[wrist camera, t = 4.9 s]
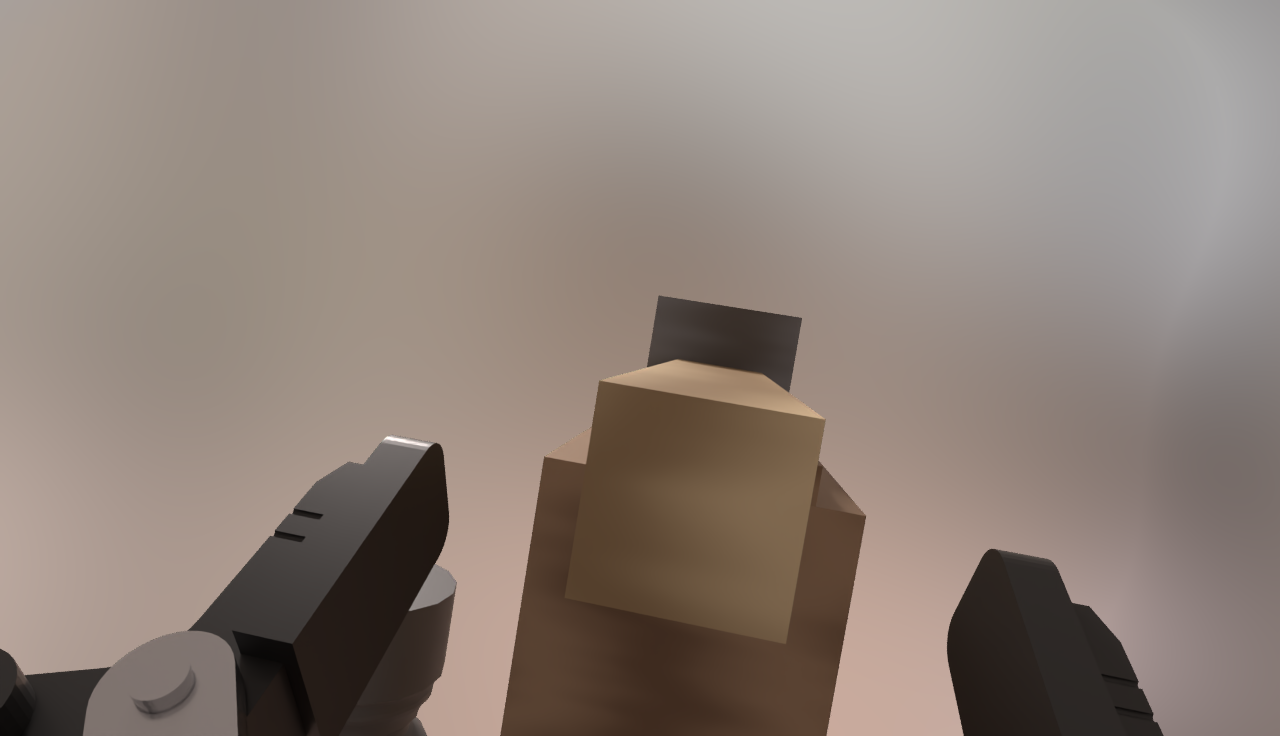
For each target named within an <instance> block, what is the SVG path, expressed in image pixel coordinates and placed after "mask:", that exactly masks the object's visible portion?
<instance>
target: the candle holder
mask: <svg viewBox="0 0 1280 736" xmlns="http://www.w3.org/2000/svg"><path fill="white" fill-rule="evenodd" d="M456 584H457V582H456V580H455V579H454V578H453V576H452V575H451V574H450V572H449V571H447V570H445V569H443V568H442V567H440V566H438V565H436V564H435V565H434V566H433V568H432V570H431V572H430V574H429V575H428V577H427V579H426V581H425V582H424V584H423V586H422V588H421V590H420V591H419V593H418V595H417V597H416V599H415V600H414V602H413V604H412V606H411V608H410V609H409V611H408V613H407V615H406V616H405V618H404V620H403V622H402V624H401V625H400V627H399V629H398V631H397V633H396V634H395V636H394V638H393V640H392V642H391V643H390V645H389V647H388V649H387V650H386V652H385V654H384V656H383V658H382V659H381V661H380V663H379V665H378V667H377V668H376V670H375V672H374V674H373V676H372V677H371V679H370V681H369V683H368V684H367V686H366V688H365V690H364V692H363V693H362V695H361V697H360V699H359V701H358V702H357V704H356V706H355V708H354V710H353V711H352V713H351V715H350V717H349V718H348V720H347V722H346V724H345V726H344V727H343V729H342V731H341V733H340V735H339V736H427V735H426V732H425V730H424V728H423V726H422V723H421V721H420V720H419V719H418V718H416V716H417V712H418V709H419V708H420V706H421V705H422V704H423V703H424V702H425V701H426V700H427V699H428V698H429V696H430V695H431V692H432V688H433V684H434V682H435V681H436V680H437V679H438V678H439V677H440V676H441V674H442V670H443V666H444V662H445V656H446V649H447V643H448V636H449V630H450V623H451V617H452V610H453V603H454V597H455V589H456Z"/></svg>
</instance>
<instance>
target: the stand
mask: <svg viewBox="0 0 1280 736" xmlns="http://www.w3.org/2000/svg"><path fill="white" fill-rule="evenodd" d="M591 430H592V427H591V428H589V429H587V430H586V431H584V432H582V433H581V434H579V435H578V436H576V437H574V438H573V439H571V440H570V441H568V442H567V443H565V444H563V445H562V446H560V447H559V448H557V449H556V450H554V451H553V452H551V453H549V454H548V455H546V456H545V457H544V462H543V468H542V475H541V481H540V487H539V493H538V500H537V507H536V513H535V519H534V525H533V532H532V539H531V544H530V551H529V557H528V564H527V571H526V576H525V583H524V589H523V595H522V602H521V608H520V614H519V621H518V627H517V634H516V640H515V646H514V653H513V659H512V665H511V672H510V678H509V684H508V691H507V697H506V703H505V710H504V716H503V723H502V729H501V735H500V736H826V734H827V729H828V724H829V718H830V712H831V707H832V702H833V696H834V691H835V685H836V679H837V674H838V668H839V663H840V657H841V652H842V646H843V641H844V635H845V630H846V624H847V619H848V613H849V608H850V602H851V597H852V591H853V586H854V580H855V575H856V569H857V564H858V558H859V553H860V547H861V541H862V536H863V530H864V525H865V519H866V515H865V514H864V513H863V512H862V511H861V510H860V509H859V507H858V506H857V505H856V504H855V503H854V501H853V500H852V499H851V498H850V497H849V496H848V494H847V493H846V492H845V491H844V490H843V489H842V487H841V486H840V485H839V484H838V483H837V482H836V480H835V479H834V478H833V477H832V476H831V475H830V474H829V472H828V471H827V470H826V469H825V468H824V466H823V465H822V464H821V463H820V462H819V461H818V465H817V471H816V477H815V482H814V488H813V494H812V499H811V505H810V511H809V516H808V522H807V528H806V533H805V539H804V545H803V550H802V556H801V562H800V567H799V573H798V578H797V584H796V590H795V595H794V601H793V607H792V612H791V618H790V624H789V629H788V635H787V641H786V644H783V643H778V642H773V641H768V640H764V639H759V638H754V637H749V636H744V635H740V634H735V633H730V632H725V631H721V630H716V629H711V628H706V627H701V626H697V625H692V624H687V623H682V622H678V621H673V620H668V619H663V618H658V617H654V616H649V615H644V614H639V613H634V612H630V611H625V610H620V609H615V608H611V607H606V606H601V605H596V604H591V603H587V602H582V601H577V600H572V599H568V598H565V592H566V586H567V579H568V573H569V567H570V561H571V554H572V548H573V542H574V536H575V529H576V523H577V517H578V511H579V504H580V498H581V492H582V486H583V479H584V473H585V467H586V461H587V455H588V448H589V442H590V436H591Z"/></svg>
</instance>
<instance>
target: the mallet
mask: <svg viewBox="0 0 1280 736" xmlns="http://www.w3.org/2000/svg"><path fill="white" fill-rule="evenodd" d="M801 321H802V318H799V317H792V316H786V315H779V314H773V313H767V312H760V311H754V310H747V309H741V308H735V307H728V306H722V305H715V304H709V303H702V302H696V301H690V300H683V299H677V298H671V297H663V296H659V297H658V304H657V309H656V316H655V321H654V328H653V334H652V340H651V346H650V352H649V358H648V365H647V368H644V369H640V370H637V371H633V372H629V373H625V374H622V375H618V376H614V377H611V378H607V379H603V380H600V381H599V386H598V392H597V398H596V405H595V411H594V417H593V424H592V430H591V436H590V442H589V448H588V455H587V461H586V467H585V473H584V479H583V486H582V492H581V498H580V504H579V511H578V517H577V523H576V529H575V536H574V542H573V548H572V554H571V561H570V567H569V573H568V579H567V586H566V592H565V598H568V599H572V600H577V601H582V602H587V603H591V604H596V605H601V606H606V607H611V608H615V609H620V610H625V611H630V612H634V613H639V614H644V615H649V616H654V617H658V618H663V619H668V620H673V621H678V622H682V623H687V624H692V625H697V626H701V627H706V628H711V629H716V630H721V631H725V632H730V633H735V634H740V635H744V636H749V637H754V638H759V639H764V640H768V641H773V642H778V643H783V644H786V641H787V635H788V629H789V624H790V618H791V612H792V607H793V601H794V595H795V590H796V584H797V578H798V573H799V567H800V562H801V556H802V550H803V545H804V539H805V533H806V528H807V522H808V516H809V511H810V505H811V499H812V494H813V488H814V482H815V477H816V471H817V465H818V460H819V454H820V449H821V443H822V437H823V432H824V426H825V419H824V418H823V417H821V416H820V415H819V414H817V413H816V412H814V411H813V410H812V409H810V408H809V407H808V406H806V405H805V404H804V403H802V402H801V401H799V400H798V399H796V398H795V397H794V396H792V395H791V394H790V393H789V390H790V384H791V378H792V373H793V367H794V361H795V355H796V350H797V344H798V338H799V332H800V327H801Z"/></svg>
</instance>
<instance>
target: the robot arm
mask: <svg viewBox="0 0 1280 736" xmlns="http://www.w3.org/2000/svg"><path fill="white" fill-rule="evenodd" d="M448 525H449V510H448V498H447V487H446V476H445V465H444V455H443V450H442V447H441V445H440V444H437V443H433V442H428V441H422V440H417V439H412V438H406V437H401V436H395V435H390V436H387V437H386V438H385V439H384V440H383V441H382V442H381V443H380V444H379V446H378V447H377V448H376V449H375V451H374V452H373V453H372V454H371V456H370V457H369V458H368V459H367V461H366V462H365V463H364V464H358V463H352V462H347V463H346V464H344V465H343V466H341V467H339V468H338V469H336V470H335V471H333V472H331V473H330V474H328V475H327V476H325V477H323V478H322V479H320V480H319V481H317V482H316V483H315V484H314V486H312V488H311V489H310V490H309V491H308V492H307V494H306V495H305V496H304V497H303V498H302V499H301V501H300V502H299V503H298V504H297V505H296V506H295V508H294V511H293V513H292V514H289V515H288V516H287V517H286V518H285V519H284V520H283V522H282V523H281V524H280V525H279V526H278V527H277V529H276V530H275V534H274V536H270V537H269V538H268V539H267V541H265V543H264V544H263V545H262V546H261V548H260V549H259V550H258V551H257V552H256V553H255V555H254V556H253V557H252V558H251V559H250V560H249V561H248V563H247V564H246V565H245V566H244V567H243V568H242V570H241V571H240V572H239V573H238V574H237V575H236V577H235V578H234V579H233V580H232V581H231V583H230V584H229V585H228V586H227V587H226V588H225V589H224V591H223V592H222V593H221V594H220V596H219V597H218V598H217V599H216V600H215V601H214V602H213V604H212V605H211V606H210V607H209V608H208V609H207V611H206V612H205V613H204V614H203V615H202V616H201V618H200V619H199V620H198V621H197V622H196V623H195V624H194V625H193V626H192V627H191V628H190V629H189V630H188V631H183V632H176V633H172V634H168V635H165V636H162V637H159V638H156V639H153V640H151V641H149V642H147V643H145V644H143V645H141V646H139V647H138V648H136V649H134V650H133V651H131V652H129V653H128V654H127V655H125V656H124V657H123V658H121V659H120V660H119V661H118V662H117V663H115V664H114V665H113V666H112V667H107V668H100V669H89V670H78V671H67V672H56V673H46V674H34V675H24V674H23V672H22V671H21V669H20V668H19V666H18V665H17V663H16V662H15V660H14V659H13V658H12V657H11V656H10V654H8V653H7V652H5V651H3V650H2V649H0V736H339V735H340V733H341V731H342V729H343V727H344V726H345V724H346V722H347V720H348V718H349V717H350V715H351V713H352V711H353V710H354V708H355V706H356V704H357V702H358V701H359V699H360V697H361V695H362V693H363V692H364V690H365V688H366V686H367V684H368V683H369V681H370V679H371V677H372V676H373V674H374V672H375V670H376V668H377V667H378V665H379V663H380V661H381V659H382V658H383V656H384V654H385V652H386V650H387V649H388V647H389V645H390V643H391V642H392V640H393V638H394V636H395V634H396V633H397V631H398V629H399V627H400V625H401V624H402V622H403V620H404V618H405V616H406V615H407V613H408V611H409V609H410V608H411V606H412V604H413V602H414V600H415V599H416V597H417V595H418V593H419V591H420V590H421V588H422V586H423V584H424V582H425V581H426V579H427V577H428V575H429V574H430V572H431V570H432V568H433V566H434V565H435V563H436V561H437V559H438V557H439V555H440V553H441V551H442V549H443V546H444V543H445V540H446V536H447V531H448ZM947 655H948V663H949V668H950V673H951V678H952V682H953V687H954V692H955V696H956V701H957V706H958V710H959V715H960V720H961V725H962V729H963V734H964V736H1163V734H1162V732H1161V729H1160V727H1159V725H1158V723H1157V722H1154V721H1153V712H1152V710H1151V707H1150V705H1149V703H1148V701H1147V699H1146V697H1145V694H1144V692H1143V690H1142V689H1139V688H1138V679H1137V677H1136V675H1135V673H1134V670H1133V668H1132V666H1131V664H1130V662H1129V660H1128V658H1127V655H1126V653H1125V651H1124V649H1123V647H1122V644H1121V642H1120V641H1119V640H1118V639H1117V638H1116V637H1115V636H1114V634H1113V633H1112V632H1111V631H1110V630H1109V629H1108V627H1107V626H1106V625H1105V624H1104V623H1103V622H1102V621H1101V619H1100V618H1099V617H1098V616H1097V615H1096V614H1095V612H1094V611H1093V610H1092V609H1091V608H1090V607H1089V606H1084V605H1080V604H1075V603H1072V602H1071V600H1070V598H1069V595H1068V593H1067V590H1066V588H1065V585H1064V583H1063V581H1062V579H1061V576H1060V573H1059V571H1058V569H1057V567H1056V566H1055V564H1054V563H1053V562H1052V561H1051V560H1048V559H1044V558H1039V557H1034V556H1028V555H1023V554H1018V553H1012V552H1007V551H1001V550H996V549H990V550H988V551H987V552H986V553H985V554H984V556H983V557H982V559H981V561H980V563H979V565H978V567H977V569H976V571H975V573H974V575H973V577H972V579H971V581H970V583H969V585H968V587H967V589H966V591H965V593H964V595H963V597H962V599H961V600H960V602H959V605H958V606H957V608H956V610H955V612H954V614H953V617H952V619H951V622H950V626H949V631H948V640H947Z"/></svg>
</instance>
